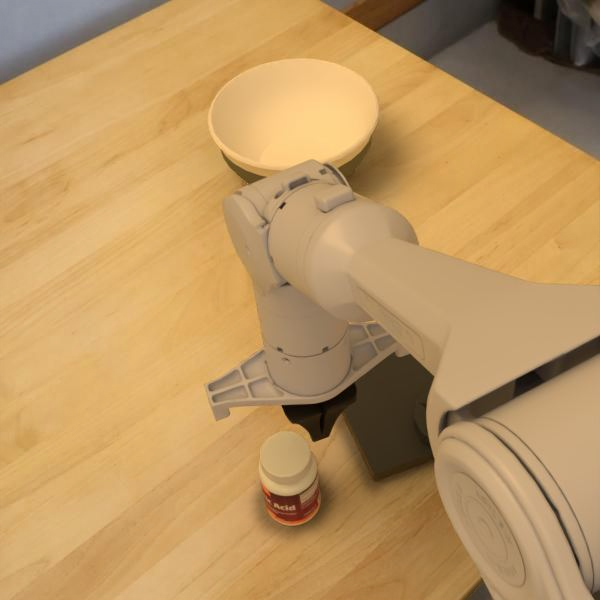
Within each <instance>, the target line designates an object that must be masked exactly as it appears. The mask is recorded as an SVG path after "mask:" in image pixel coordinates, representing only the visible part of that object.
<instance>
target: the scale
mask: <svg viewBox="0 0 600 600" xmlns="http://www.w3.org/2000/svg"><path fill="white" fill-rule="evenodd" d="M434 377H435V376H433V375H432V374H431V373H430V372H429V371H428V370H427V369H426V368H425V367H424V366H423V365H422V364H421V363H420V362H419V361H418V360H416V359H415V358H414V357H413V356H412V355H411V354H408V355H405V356H402V357H398V356H396V354H395V352H393V353H392V354H390V355H389V356H387V357H386V358H385V359H383V360H382V361H381V362H379V363H378V364H377V365H376V366H374V367H373V368H372V369H370V370H369V371H368V372H367V373H365V374H364V375H363V376H361V377H360V378H359V379H357V380H356V381H355V382H354V383H355V385H356V388H357V398H356V402H354V403H353V404H351V405H349V406H348V407H347V408H346V409H345V410H344V411H343V412H342V413H341V416H342V417H343V419H344V421H345V423H346V426H347V429H348V430H349V432H350V434H351V436H352V438H353V440H354V443H355V445H356V446H357V449H358V451H359V454H360V455H361V457H362V459H363V461H364V463H365V465H366V467H367V471H368V472H369V474H370V476H371V478H372V481H373V482H379V481H380V480H383V479H385V478H388V477H391V476H394V475H396V474H399V473H401V472H404V471H406V470H409V469H412V468H414V467H417V466H420V465H422V464H425V463H428V462H430V461H434V460H435V459H434V456H433V452H432V449H431V445H430V441H429V436H428V430H427V421H426V410H427V399H428V395H429V391H430V389H431V386H432V383H433V380H434Z"/></svg>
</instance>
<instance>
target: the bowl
mask: <svg viewBox="0 0 600 600" xmlns="http://www.w3.org/2000/svg"><path fill="white" fill-rule="evenodd" d="M380 111H381V106H380V102H379V97H378V95H377V93H376V91H375V89H374V88H373V86H372V85H371V84H370V83H369V82H368V80H367V79H365V77H363V76H362V75H361V74H360V73H358V72H356V71H355V70H353V69H352V68H349V67H347V66H345V65H343V64H341V63H336V62H333V61H330V60H325V59H318V58H313V57H312V58H311V57H310V58H309V57H308V58H306V57H304V58H302V57H295V58H294V57H293V58H285V59H278V60H274V61H269V62H265V63H262V64H259V65H256V66H253V67H250V68H248V69H247V70H244V71H243V72H241V73H239V74H237V75H236V76H234V77H233V78H232V79H230V80H229V81H227V82H226V83H225V85H224V86H222V87H221V89H220V90H219V91H218V92H217V93H216V95H215V96H214V98H213V100H212V102H211V103H210V106H209V110H208V113H207V126H208V130H209V134H210V137H211V138H212V140H213V141H214V142H215V144H216V146H217V147H218V148H219V149H220V152H221V155H222V158H223V160H224V162H225V163H226V164H227V166H228V168H230V169H231V170H232V171H233V172H234V173H235V174H236V175H237V176H238V177H240V179H242V180H243V181H244V182H245V183H247V184H248V185H250V184H252V183H254V182H257V181H259V180H262V179H264V178H266V177H269V176H271V175H274V174H276V173H278V172H281V171H283V170H286V169H288V168H290V167H293V166H295V165H298V164H300V163H302V162H305V161H307V160H310V159H314V160H316V161H318V162H319V163H321V164H323V163H326V162H329V163H331V164H333V165H334V166H336V167H337V168H338V169H339V171H340V172H341V173H342V174H343V176H344V177H345V178H348V176H350V175H351V174H352V173H353V172H355V170H356V169H357V167H358V166H359V165H360V163H361V162H362V161H363V160H364V158H365V157H366V156H367V154H368V152H369V150H370V147H371V145H372V140H373V139H372V138H373V133H374V131H375V129H376V127H377V125H378V122H379V119H380Z"/></svg>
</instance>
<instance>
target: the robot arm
mask: <svg viewBox="0 0 600 600" xmlns="http://www.w3.org/2000/svg"><path fill="white" fill-rule="evenodd" d="M346 178H347V177H346ZM346 178H345V177H344V176H343V174H342V173H341V172H340V171H339V169H338V168H337V167H336V166H334V165H333V164H331V163H329V162H326V163H323V164H321V163H319V162H318V161H316V160H314V159H310V160H307V161H305V162H302V163H300V164H298V165H295V166H293V167H290V168H288V169H286V170H283V171H281V172H278V173H276V174H274V175H271V176H269V177H266V178H264V179H262V180H259V181H257V182H254V183H252V184H247V185H245V186H243V187H240V188H238V189H236V190H235V191H234V192H233V193H232V194H230V195H225V196H223V198H222V203H221V204H222V212H223V217H224V220H225V225H226V228H227V231H228V235H229V237H230V240H231V243H232V245H233V248H234V250H235V252H236V255H237V256H238V258H239V260H240V262H241V264H242V265H243V266H244V268H245V270H246V272H247V273H248V275H249V276H250V278H251V284H252V290H253V294H254V295H253V296H254V299H255V305H256V312H257V314H258V315H257V316H258V317H257V318H258V322H259V327H260V332H261V338H262V344H263V347H261V348H260V349H259V350H257V351H256V352H254V353H252V355H251V354H250V356H249V357H247V358H246V359H244V360H243V361H241V362H240V363H239V364H237V365H236V366H235V367H232V369H231V370H229V371H228V372H225V374H223V375H221V376H219V377H217V378H215V379H213V380H210V381H207V382H205V383H203V386H204V390H205V393H206V394H205V395H206V397H207V400H208V403H209V406H210V409H211V411H212V415H213V417H214V420H215V421H216V422H219V421H221V420H224V419H226V418H229V417H230V416H231V411H230V409H231V408H240V407H263V406H264V407H265V406H266V407H267V406H281V409H282V411H283V413H284V415H285V417H286V418H287V419H288V421H289V422H290V423H291V424H292V425H299V426H300V427H302V428H304V429H305V431H306V432H307V433H308V434H309V437H310V439H311V441H312V442H313V443H315V442H319V441H321V440H324V439H327V438H329V437H330V436H331V433H332V430H333V428H334V427H335V424H336V422H337V420H338V418H339V417H340V416H341V415H342V412H343V411H344V410H345V409H346V408H347V407H348V406H349V405H351V404H353V403H354V402H356V398H357V388H356V385H355V383H354V382H355V381H356V380H357V379H359V378H360V377H361V376H363V375H364V374H365V373H367V372H368V371H369V370H370V369H372V368H373V367H374V366H376V365H377V364H378V363H379V362H381V361H382V360H383V359H385V358H386V357H387V356H389V355H390V354H392V353H393V352H395V354H396V356H398V357H402V356H405V355H408V354H411V355H412V356H413V357H414V358H415V359H416V360H418V361H419V362H420V363H421V364H422V365H423V366H424V367H425V368H426V369H427V370H428V371H429V372H430V373H431V374H432V375H433V376H435V377H434V380H433V383H432V386H431V389H430V391H429V395H428V399H427V410H426V421H427V430H428V436H429V441H430V445H431V449H432V452H433V456H434V459H433V460H434V465H433V468H434V469H433V470H434V478H435V479H434V480H435V484H436V488H437V491H438V495H439V497H440V500H441V502H442V506H443V508H444V510H445V513H446V515H447V517H448V519H449V522H450V524H451V526H452V528H453V529H454V532H455V533H456V535H457V537H458V539H459V541H460V542H461V544H462V546H463V548H464V549H465V551H466V553H467V554H468V555H469V557H470V558H471V560H472V562H473V564H474V566H475V567H476V569H477V571H478V573H479V574H480V576H481V578H482V580H483V583H484V584H485V586H486V588H487V591H488V593H489V594H490V596H491V598H492V600H600V284H575V283H573V284H572V283H571V284H570V283H543V282H534V281H529V280H525V279H523V278H520V277H516V276H513V275H509V274H508V273H503V272H501V271H498V270H495V269H492V268H489V267H486V266H483V265H480V264H477V263H473V262H470V261H468V260H464V259H461V258H457V257H455V256H452V255H449V254H447V253H443V252H439V251H437V250H433V249H431V248H428V247H424V246H422V245H420V242H419V239H418V235H417V232H416V231H415V229H414V227H413V225H412V224H411V222H410V221H409V220H408V219H407V217H406V216H404V215H403V214H402V213H401V212H400V211H398V210H397V209H394V208H392V207H390V206H388V205H385V204H384V203H381V202H378V201H376V200H373V199H371V198H369V197H366V196H364V195H362V194H359V193H357V192H354V191H353V188H352V187H351V185H350V183H349V182H348V179H346Z"/></svg>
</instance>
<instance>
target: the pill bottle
mask: <svg viewBox="0 0 600 600" xmlns="http://www.w3.org/2000/svg"><path fill="white" fill-rule="evenodd" d="M318 465H319V464H318V460H317V457H316V455H315V453H314V452H313V451H312V449H311V446H310V444H309V442H308V441H307V439H306V438H305V437H304V436H303V435H301V434H300V433H297V432H294V431H290V430H282V431H278V432H275V433H273V434H271V435H269V437H267V438H266V439H265V440H264V441H263V443H262V445H261V447H260V450H259V462H258V467H257V473H258V479H259V483H260V486H261V492H262V496H263V500H264V504H265V508H266V511H267V512H268V514H269V515H270V517H271V518H272V519H273V520H274V521H276V522H277V523H279V524H281V525H283V526H288V527H289V526H290V527H294V526H302V525H303V524H305V523H308V522H309V521H310V520H312V519H313V518H314V517H315V516H316V514H317V513H318V512H319V509H320V506H321V501H322V495H321V486H320V475H319V468H318V467H319V466H318Z"/></svg>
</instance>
